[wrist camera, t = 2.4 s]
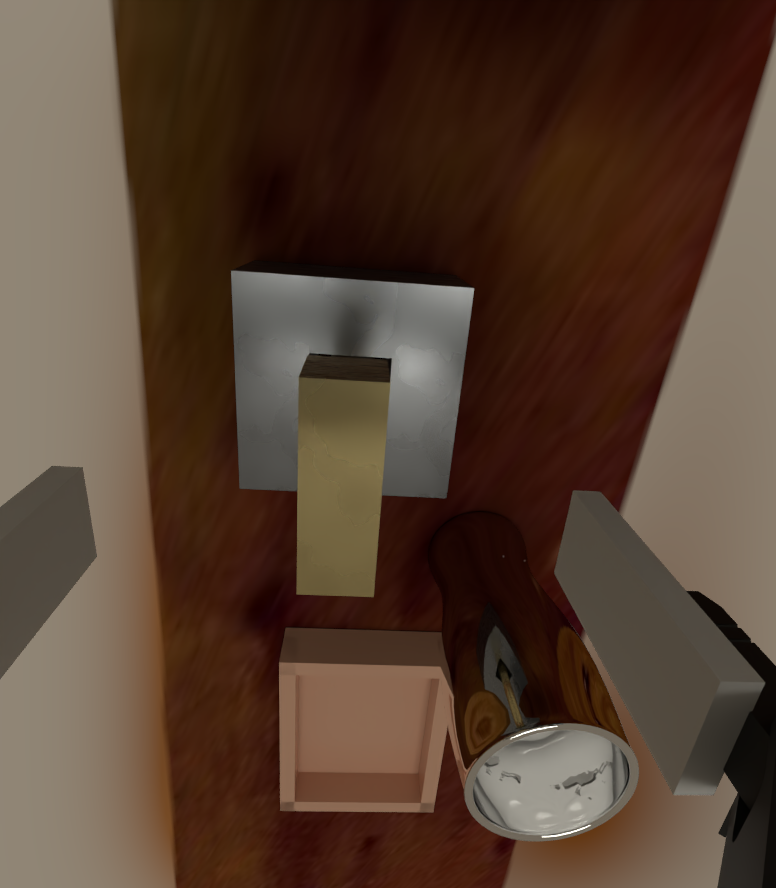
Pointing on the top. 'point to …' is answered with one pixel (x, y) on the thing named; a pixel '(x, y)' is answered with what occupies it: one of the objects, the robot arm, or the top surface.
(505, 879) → the top surface
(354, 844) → the top surface
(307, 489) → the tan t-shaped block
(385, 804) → the pale pink tray
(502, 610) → the beer glass
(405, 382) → the grey square block
